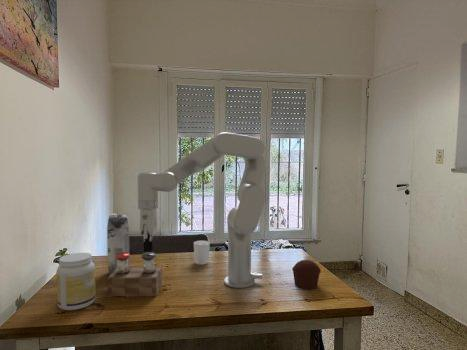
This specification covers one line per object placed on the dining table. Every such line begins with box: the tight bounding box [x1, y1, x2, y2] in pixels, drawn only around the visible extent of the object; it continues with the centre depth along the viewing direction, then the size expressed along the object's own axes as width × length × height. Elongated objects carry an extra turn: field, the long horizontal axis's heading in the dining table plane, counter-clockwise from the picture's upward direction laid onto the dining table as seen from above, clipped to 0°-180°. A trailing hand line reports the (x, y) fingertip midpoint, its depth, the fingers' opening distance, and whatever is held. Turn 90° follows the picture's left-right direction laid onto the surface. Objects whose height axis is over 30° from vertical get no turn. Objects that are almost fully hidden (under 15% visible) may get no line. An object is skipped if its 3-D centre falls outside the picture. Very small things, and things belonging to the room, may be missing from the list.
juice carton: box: [106, 212, 130, 276], centre depth 144 cm, size 9×10×27 cm
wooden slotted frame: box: [106, 266, 163, 298], centre depth 127 cm, size 12×18×7 cm, turn 93°
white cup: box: [193, 240, 211, 266], centre depth 160 cm, size 8×8×10 cm
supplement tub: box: [56, 252, 96, 311], centre depth 115 cm, size 12×12×17 cm
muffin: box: [291, 259, 322, 291], centre depth 132 cm, size 12×11×10 cm
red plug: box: [116, 252, 131, 275], centre depth 126 cm, size 5×5×10 cm
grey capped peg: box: [141, 251, 156, 274], centre depth 127 cm, size 5×5×10 cm
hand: (148, 251), depth 126 cm, fingers closed
